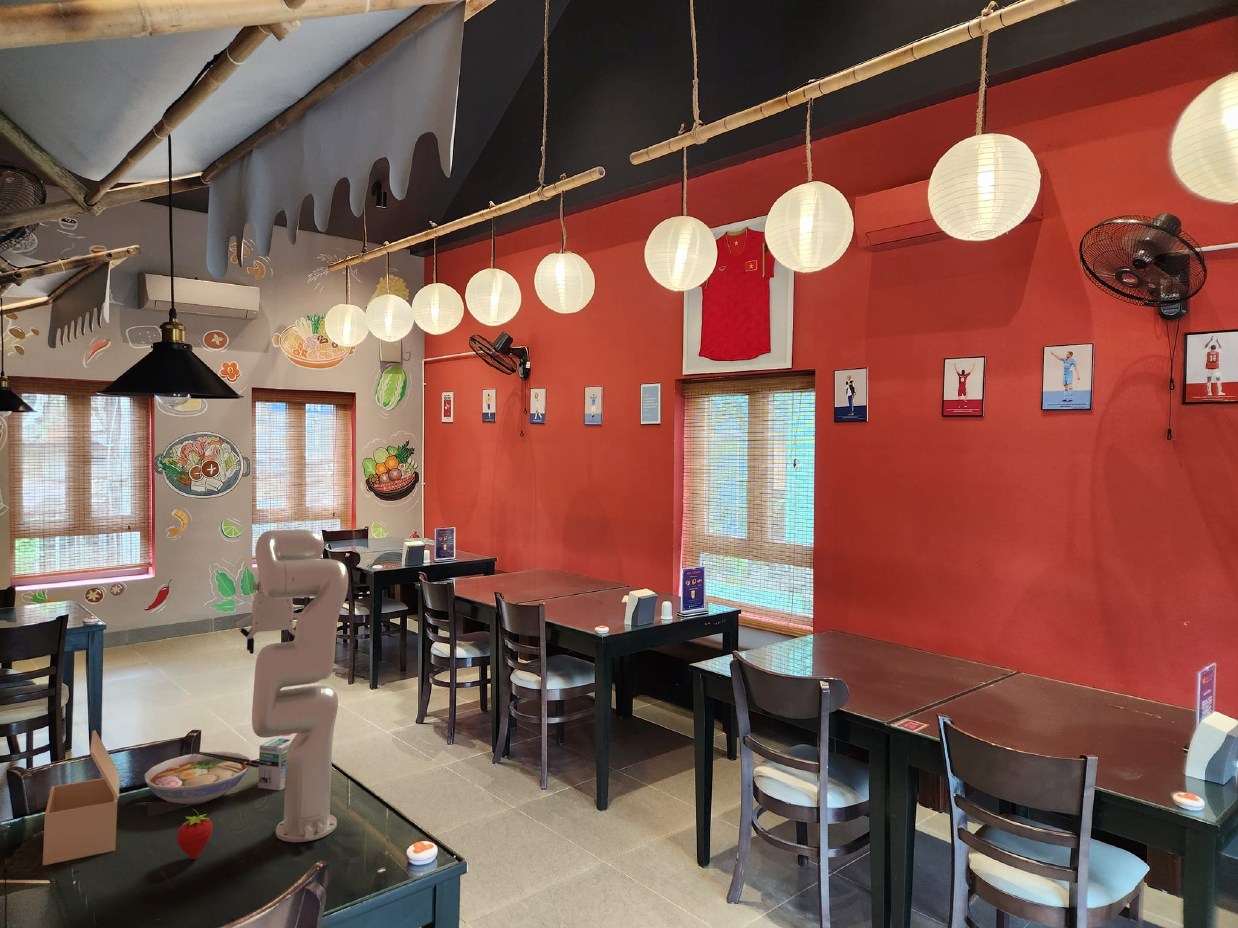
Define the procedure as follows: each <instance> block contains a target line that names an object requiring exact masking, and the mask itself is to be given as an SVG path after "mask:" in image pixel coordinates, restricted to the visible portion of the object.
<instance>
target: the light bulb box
mask: <svg viewBox="0 0 1238 928" xmlns="http://www.w3.org/2000/svg"><path fill="white" fill-rule="evenodd" d="M296 734H297V733H293V734H287V735H281V736H275V737H273V738H272V739H270V740H268V741H266V742H264V743H262V744H259V754H258V755H259V756H258V757H259V760H258V761H262V762H265V765H259V767H258V780H257V781H258V784H257V786H258V787H257V788H258V789H265V790H266V789H267V790H272V791H273V790H274V791H281V790H282V791H283V790H285V770H286V753H287V750H288V747H289V745H290V743H291V742H292V740H293V739H294V737H295V736H296Z"/></svg>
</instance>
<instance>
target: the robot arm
mask: <svg viewBox="0 0 1238 928" xmlns="http://www.w3.org/2000/svg"><path fill="white" fill-rule="evenodd" d="M324 543H325V542H324V541H323V538H322V537H321V535H319V533H317V532H315V531H313V530H308V529H282V530H281V529H276V530H275V529H273V530H272V529H271V530H266V531H264V532H263V533H261V534H260V536H259V537H258V538H257V541H256V544H255V550H254V551H255V562H256V567H257V571H258V575H257V576H258V577H257V578H258V581H257V583H254V584H252V585H251V590H255V591H257V592H256V593H254V596H253V602H252V606H251V607H252V608H251V614H250V615H248V616H246V617H244V618H242V619H240V620H238V621H237V622H236V626H237V628H238V629H239V631H240V633H241V634H242V635H243V636H244V637H245V638H246V651H248V652H249V654H250V655H253V654H254V651H255V648H254V647H255V638H254V636H255V635H256V633H262V632H263V633H264V632H274V631H286V630H287V631H288V632H289V633H288V635H287V641H285V642H275V643H270V644H267V645H265V646H264V647H262V648H261V649H260V651H259V652H258V655H257V656H256V660H255V666H254V667H255V669H254V679H253V680H254V682H253V692H252V694H253V695H252V706H251V707H252V708H251V725H252V730H253V733H254V734H255V735H256V736H257V737H259V738H265V739H266V738H276V737H278V736H281V735H287V734H293V733H294V734H296V736H295V737H294V739H293V740H292V742H291V743H290V745H289V747H288V750H287V753H286V770H285V788H284V803H283V820H282V821H280V822H279V823H278V824H277V826H276V827H275V836H276V838H278V839H279V840H281V841H284V842H287V843H305V842H310V841H315V840H318V839H321V838H324V837H326V836H328V835H329V834H331V833H332V832H334V831H335V830H336V828H337V826H338V825H337V824H338V821H337V818H336V816H335V815H332V814H331V792H332V791H331V789H332V788H331V787H332V784H331V783H332V763H333V762H332V761H333V760H332V759H333V757H332V755H333V742H334V741H333V740H334V730H335V724H336V720H337V713H338V709H339V697H338V694H337V692H336V690H334V689H333V688H332V687H330V686H327V685H310V684H316V683H321V682H324V681H327V680H328V679H329V678H330V677H331V675H332V674H333V670H334V665H335V664H334V663H335V657H336V654H335V653H336V643H337V642H336V641H337V630H338V627H337V626H338V621H339V617H340V614H341V611H342V609H343V608H344V607H343V606H344V604H345V600H346V598H347V594H348V589H349V572H348V569H347V566H346V565H345V564H344V563H343V562H341V561H339V560H337V559H330V558H321V557H322V555H323V553H324V550H325V549H324V548H325V544H324ZM314 597H315V598H314ZM300 598H313V599H312V600H311V601H310V602H309V603H308V604H307V605H306V606H305V608H303V609H302V611H301V612H300V613H299V614H298V613H297V612H294V603H293V599H300ZM294 619H295V620H296V621H295V626H294ZM249 622H250V627H251V628H250V629H249V631H248V630H247V629H246V628H245V627H244V625H245V624H248V623H249ZM303 685H310V686H303ZM295 686H300V687H295ZM286 687H287V688H288V689H287V688H286ZM289 687H294V688H290V689H289ZM283 688H286V689H283Z"/></svg>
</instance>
